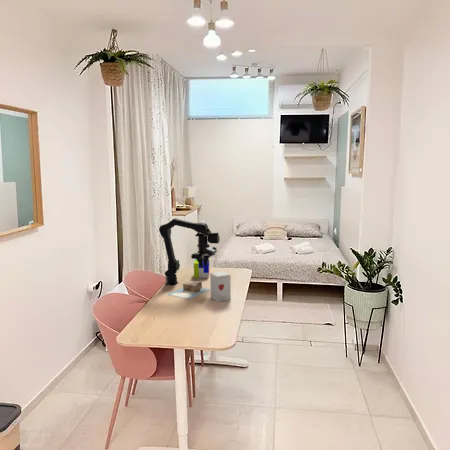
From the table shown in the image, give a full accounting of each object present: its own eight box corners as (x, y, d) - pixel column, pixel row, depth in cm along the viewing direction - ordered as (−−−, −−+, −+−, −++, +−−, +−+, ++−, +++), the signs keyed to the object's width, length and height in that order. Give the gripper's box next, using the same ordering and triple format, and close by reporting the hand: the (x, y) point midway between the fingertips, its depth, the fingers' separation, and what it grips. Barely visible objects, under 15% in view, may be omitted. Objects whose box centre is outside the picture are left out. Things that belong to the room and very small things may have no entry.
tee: (183, 290, 269) (183, 284, 268) (192, 286, 277) (192, 280, 276) (196, 292, 263) (196, 286, 263) (205, 288, 272) (205, 282, 271)
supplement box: (217, 302, 246) (216, 276, 243) (210, 297, 253) (209, 273, 251) (231, 299, 250) (230, 274, 247) (224, 295, 258) (223, 270, 255)
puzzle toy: (208, 277, 297) (208, 263, 296) (194, 277, 297) (193, 263, 296) (209, 273, 307) (209, 259, 306) (195, 273, 307) (195, 260, 306)
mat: (165, 294, 261) (165, 294, 261) (187, 285, 279) (187, 285, 279) (189, 299, 251) (189, 299, 251) (211, 289, 270) (211, 289, 269)
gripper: (205, 246, 263) (205, 271, 265) (221, 241, 278) (222, 265, 281) (190, 245, 269) (191, 269, 271) (207, 240, 284) (208, 263, 286)
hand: (203, 267), depth 277 cm, fingers open, 4 cm apart
